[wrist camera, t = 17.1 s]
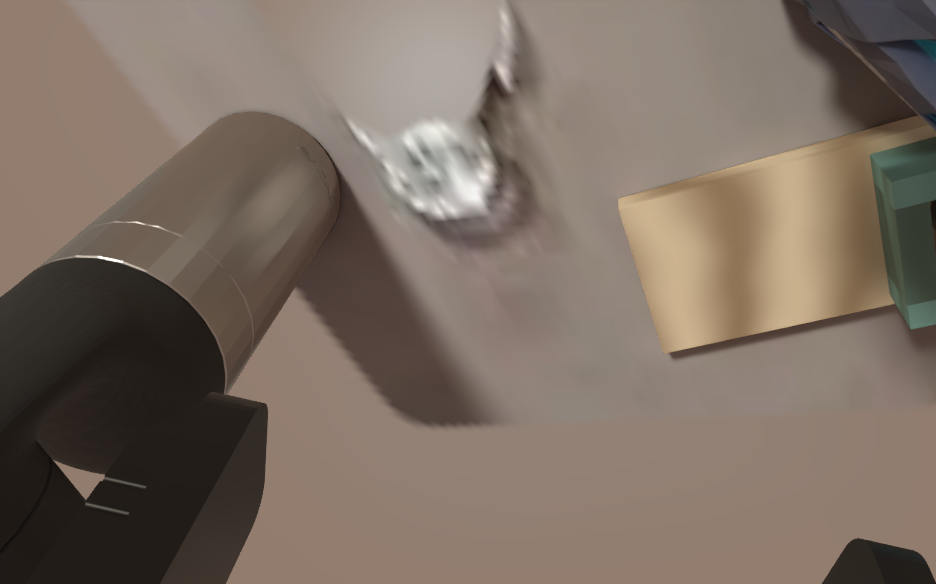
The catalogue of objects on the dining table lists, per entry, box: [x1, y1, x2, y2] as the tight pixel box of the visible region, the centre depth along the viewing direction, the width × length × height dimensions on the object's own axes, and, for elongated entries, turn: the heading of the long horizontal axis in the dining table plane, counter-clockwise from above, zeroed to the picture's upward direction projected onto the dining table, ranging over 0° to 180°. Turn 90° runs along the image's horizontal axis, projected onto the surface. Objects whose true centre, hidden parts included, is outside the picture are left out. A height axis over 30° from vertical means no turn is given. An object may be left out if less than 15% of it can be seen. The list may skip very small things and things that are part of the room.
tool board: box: [618, 115, 936, 354], centre depth 42 cm, size 22×10×5 cm, turn 111°
